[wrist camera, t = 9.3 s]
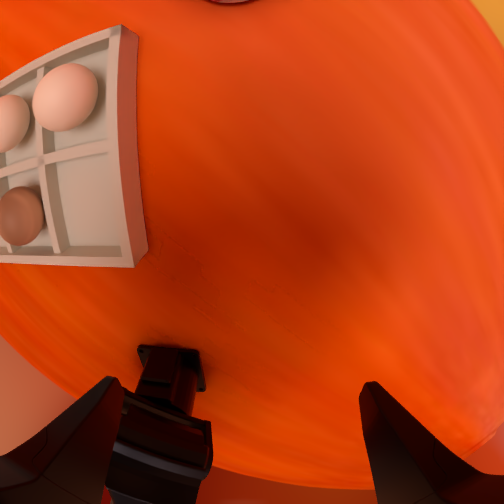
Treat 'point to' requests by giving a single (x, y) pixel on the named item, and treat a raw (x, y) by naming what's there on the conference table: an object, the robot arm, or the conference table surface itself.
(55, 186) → the egg tray
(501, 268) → the conference table surface
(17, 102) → the cream egg
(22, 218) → the egg brown
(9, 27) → the conference table surface
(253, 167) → the conference table surface
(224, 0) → the beverage can
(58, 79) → the cream egg
